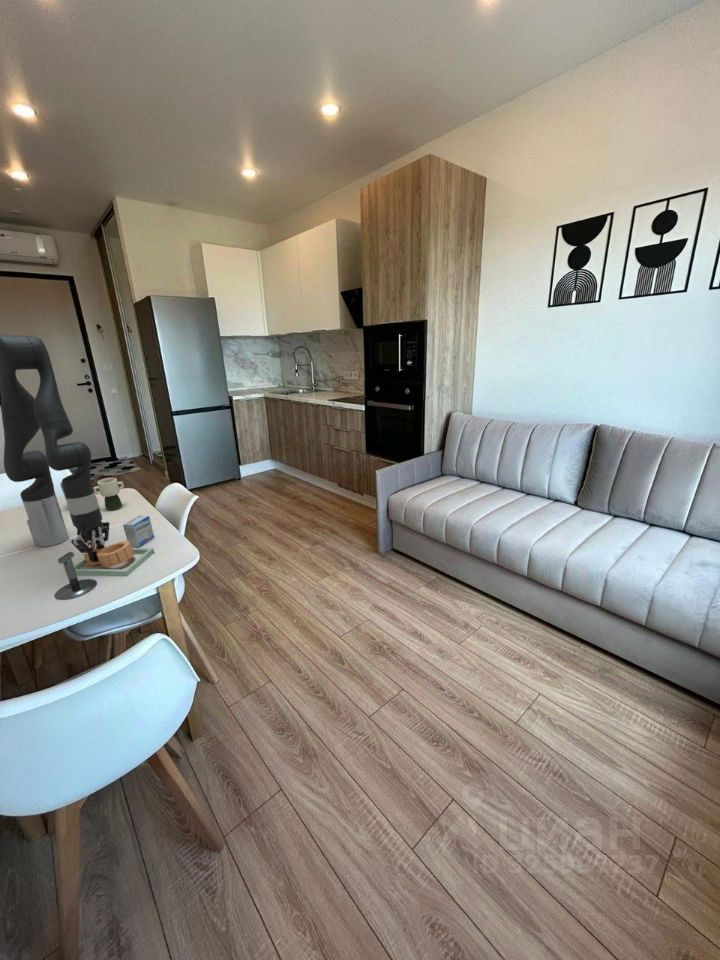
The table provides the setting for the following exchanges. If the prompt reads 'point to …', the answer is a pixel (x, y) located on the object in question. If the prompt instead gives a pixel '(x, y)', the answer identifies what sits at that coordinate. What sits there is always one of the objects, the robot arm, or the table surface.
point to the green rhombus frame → (115, 572)
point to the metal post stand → (73, 581)
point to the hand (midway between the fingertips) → (98, 558)
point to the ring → (112, 554)
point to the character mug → (110, 492)
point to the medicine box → (138, 530)
